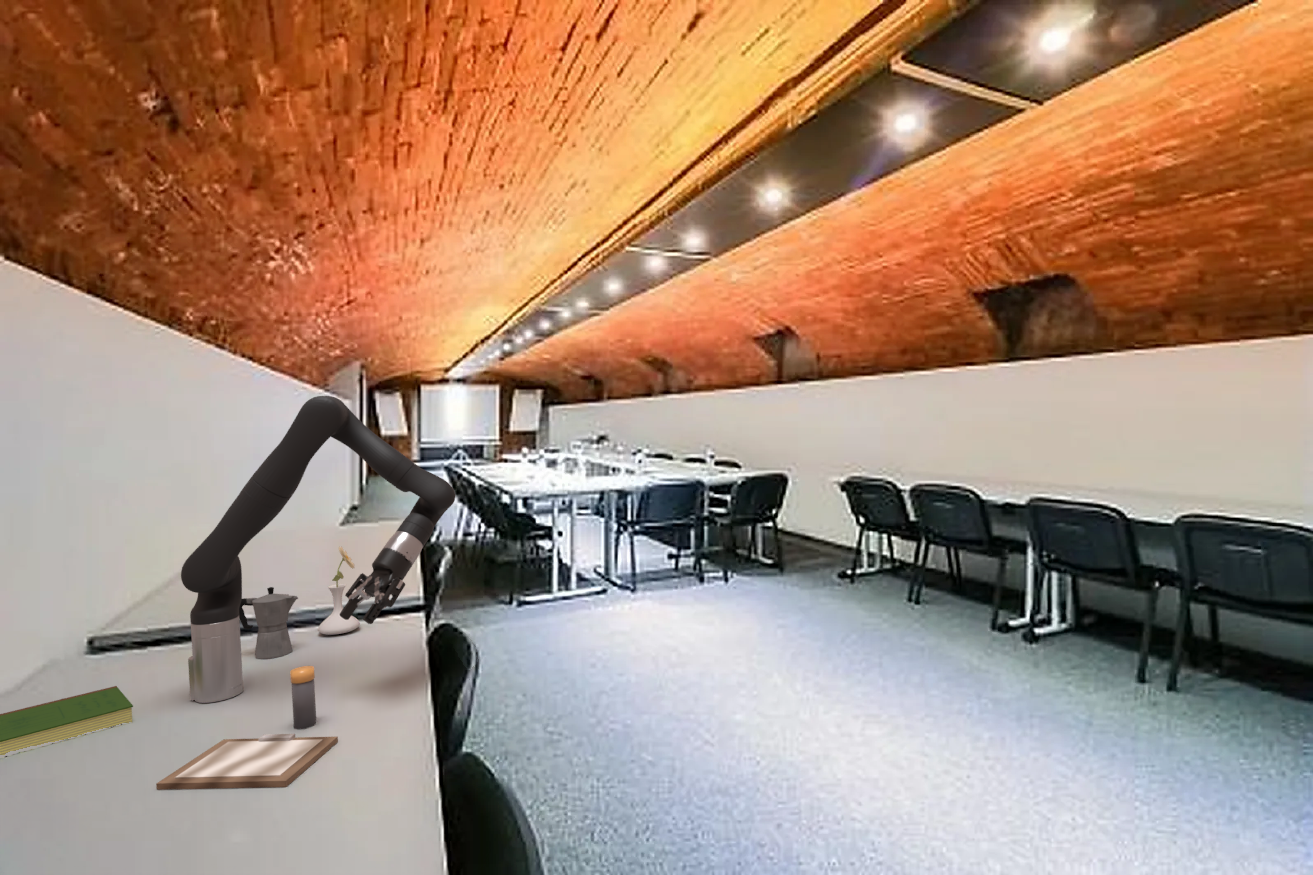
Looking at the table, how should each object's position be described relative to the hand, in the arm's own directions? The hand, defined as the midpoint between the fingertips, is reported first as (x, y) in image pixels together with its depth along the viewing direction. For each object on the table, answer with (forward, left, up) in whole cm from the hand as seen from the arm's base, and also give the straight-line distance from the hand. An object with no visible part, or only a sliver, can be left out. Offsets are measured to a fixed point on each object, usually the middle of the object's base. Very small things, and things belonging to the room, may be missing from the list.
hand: (354, 620), depth 144 cm
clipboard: (-6, -26, -18) cm, 32 cm away
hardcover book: (-60, -10, -18) cm, 63 cm away
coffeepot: (-43, +36, -18) cm, 59 cm away
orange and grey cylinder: (-6, -10, -18) cm, 21 cm away
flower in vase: (-34, +56, -18) cm, 68 cm away
